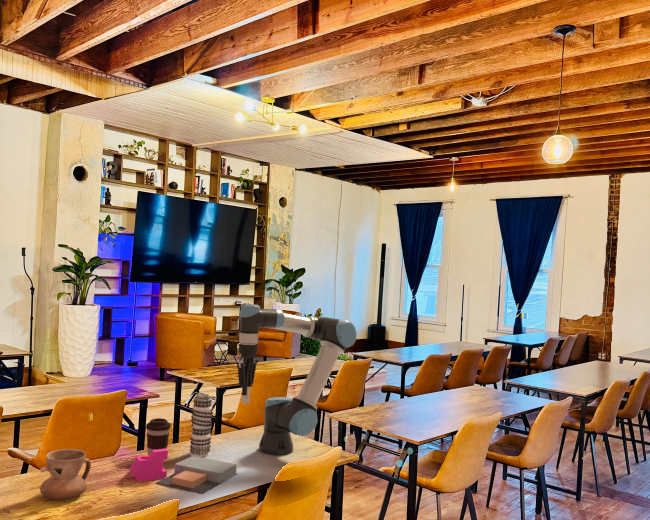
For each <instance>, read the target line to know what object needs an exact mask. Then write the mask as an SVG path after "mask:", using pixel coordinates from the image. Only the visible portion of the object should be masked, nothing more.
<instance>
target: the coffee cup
mask: <svg viewBox="0 0 650 520" xmlns="http://www.w3.org/2000/svg"><path fill="white" fill-rule="evenodd" d="M171 428H172V423H170V422H169V421H168V419H166V418H160V417H159V418H152V419H150V421H149V422H147V423H146V424H145V429H146V430H147V431H146V447H147V455H150V454H151V452H152V450H159V449H167V448H168V447H169V445H168V444H169V438H170V437H169V436H170V429H171ZM167 450H168V449H167Z"/></svg>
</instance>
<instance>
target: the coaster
mask: <svg viewBox="0 0 650 520" xmlns="http://www.w3.org/2000/svg"><path fill="white" fill-rule="evenodd" d="M205 481H207V474H204V473H199V472H194V471H190V470H186V471H184V472H182V473H179V474H177V475H175V476H173V477H172V484H175V485H180V486H184V487H189V488H194V487H196V486H198V485H200V484H201V483H203V482H205Z"/></svg>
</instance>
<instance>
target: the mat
mask: <svg viewBox="0 0 650 520" xmlns="http://www.w3.org/2000/svg"><path fill="white" fill-rule="evenodd" d="M175 475H177V474H174V473H173V474H171V475H169V476H168V475H167V477H166V478H161V479H159V481H156V483H155V484H157V485H161V486H165V487H171V488H174V487H175V488H174V489H178V488H180V489H179V490H183V489H184V491H187V490H188V492H192V491H193V492H192V493H196V492H197V493H196V494H201V493H202V494H201V495H203V494H205V493H207V492H208V490H209V491H211V490H212V489H214V488H216V487H218V486H219V485H221V484H222V483H224V482H226V481H228V480H227V479H226V480H224V481H222V482H221V483H217V482H212V481H205V482H203V483H201V484H200V485H198V486H196V487H194V488H189V487H184V486H180V485H175V484H172V477H173V476H175Z"/></svg>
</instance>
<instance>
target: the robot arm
mask: <svg viewBox="0 0 650 520" xmlns="http://www.w3.org/2000/svg"><path fill="white" fill-rule="evenodd" d="M238 317H239V335H238V336H239V337H238V338H239V339H238V341H239V344H238V354H241V355H240V361H239V362H236V367H237V373H238V374H237V376H238V385H239V387H241V401H240V403H241V404H247V405H248V404H250V393H251V387H253V385H254V382H255V376H256V370H257V364H258V361H259V359H256V358H255V355H257V354H258V352H259V351H258V349H259V345H258V343H259V331H260V329H273V330H278V331H283V332H284V331H285V332H289V333H290V332H291V333H295V334H299V335H302V336H303V337H304V338H309V339H313V340H315V341H318V342H319V343H320V346H321V348H320V349H319V350H318V353H317V356H316V357H315V360H314V361H313V364H312V365H311V368H310V370H309V372H308V373H307V376H306V377H305V378H306V379H305V380H304V382H303V384H302V386H301V388H300V389H299V393H298V394H297V395H296V396H293V397H292V398H291V397H290V396H278V397H270V398H267V399H266V400H265V404H264V416H263V417H264V419H263V421H264V422H263V433H262V437H261V439H260V441H259V444H258V451H259V452H261V453H263V454H266V455H270V456H272V455H273V456H283V455H288V454H291V453H293V452H294V443H293V439H292V436H291V434H292V435H295V436H299V437H300V436H301V437H303V436H308V435H309V434H310V433H312V432H313V431H314V430H315V429H316V426H317V424H318V414H317V411H318V406H317V403H318V400H319V398H320V396H321V394H322V392H323V390H324V388H325V386H326V385H327V384H326V383H327V381H328V379H329V377H330V375H331V373H332V371H333V369H334V366H335V365H336V363H337V360H338V358H339V356H341V355H343V354H344V353H345V352H346V349H347V348H350V347H353V345H354V344H355V343H356V340H357V330H356V327H355V325H354V323H353V322H352V321H349V320H345V319H344V318H343V319H340V318H333V317H324V316H322V317H317V316H315V317H314V316H305V317H303V316H299V315H294V314H291V313H284V311H283V310H281V309H277V308H276V309H275V308H274V309H271V308H262V307H261V306H260V305H258V304H242V305H241V307H240V310H239V315H238Z"/></svg>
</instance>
